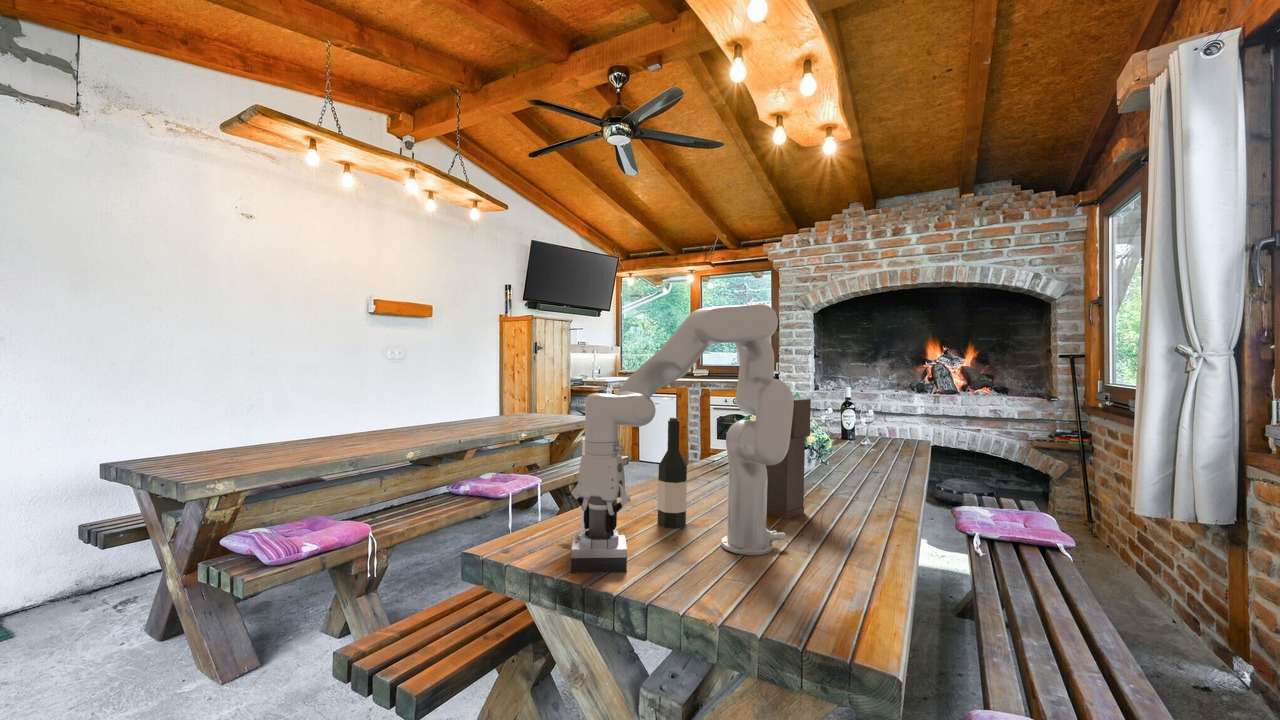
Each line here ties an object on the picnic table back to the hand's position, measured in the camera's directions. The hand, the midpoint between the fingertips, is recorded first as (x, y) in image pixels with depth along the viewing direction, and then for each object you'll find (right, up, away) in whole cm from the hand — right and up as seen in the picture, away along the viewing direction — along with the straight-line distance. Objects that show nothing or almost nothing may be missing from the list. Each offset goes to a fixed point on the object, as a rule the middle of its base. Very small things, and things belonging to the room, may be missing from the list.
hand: (599, 528), depth 119 cm
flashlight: (0, -2, 0) cm, 2 cm away
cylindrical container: (-3, -8, +22) cm, 24 cm away
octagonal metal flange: (0, -8, 0) cm, 8 cm away
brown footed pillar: (+51, -9, +48) cm, 70 cm away
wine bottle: (+18, -9, +31) cm, 37 cm away
